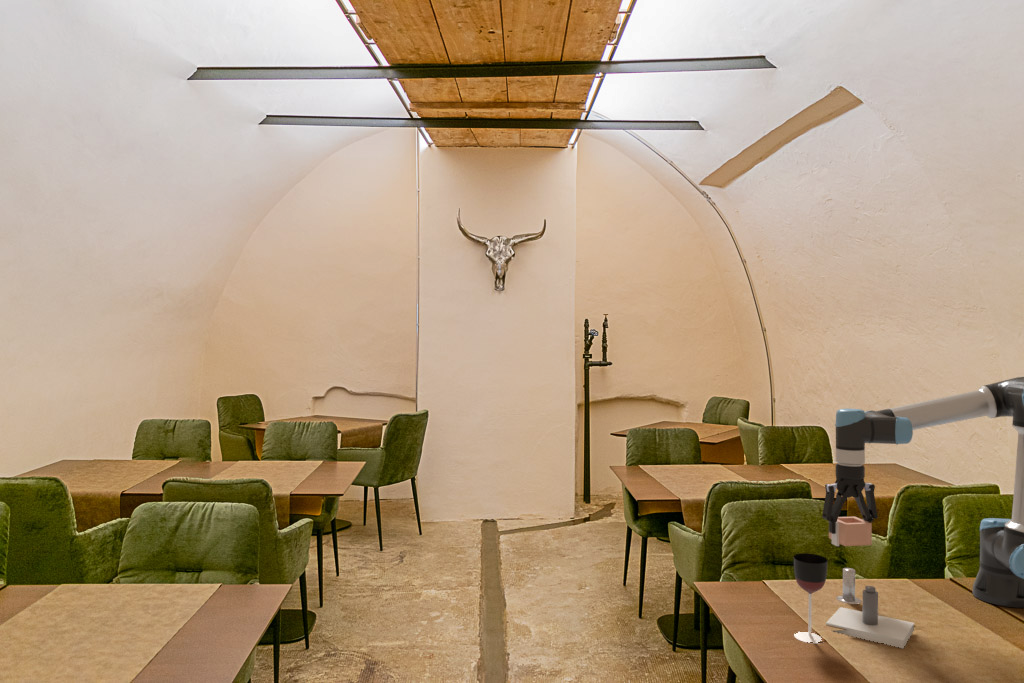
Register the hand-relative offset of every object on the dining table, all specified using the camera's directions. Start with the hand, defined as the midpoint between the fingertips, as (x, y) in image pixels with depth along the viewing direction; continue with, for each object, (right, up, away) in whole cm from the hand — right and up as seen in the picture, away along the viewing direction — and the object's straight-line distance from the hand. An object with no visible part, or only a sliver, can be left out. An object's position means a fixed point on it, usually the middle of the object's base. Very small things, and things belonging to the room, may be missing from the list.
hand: (849, 544), depth 211 cm
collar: (0, +1, 0) cm, 1 cm away
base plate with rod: (-3, -17, -18) cm, 25 cm away
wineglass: (-20, -18, -22) cm, 35 cm away
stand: (0, -17, 0) cm, 17 cm away
